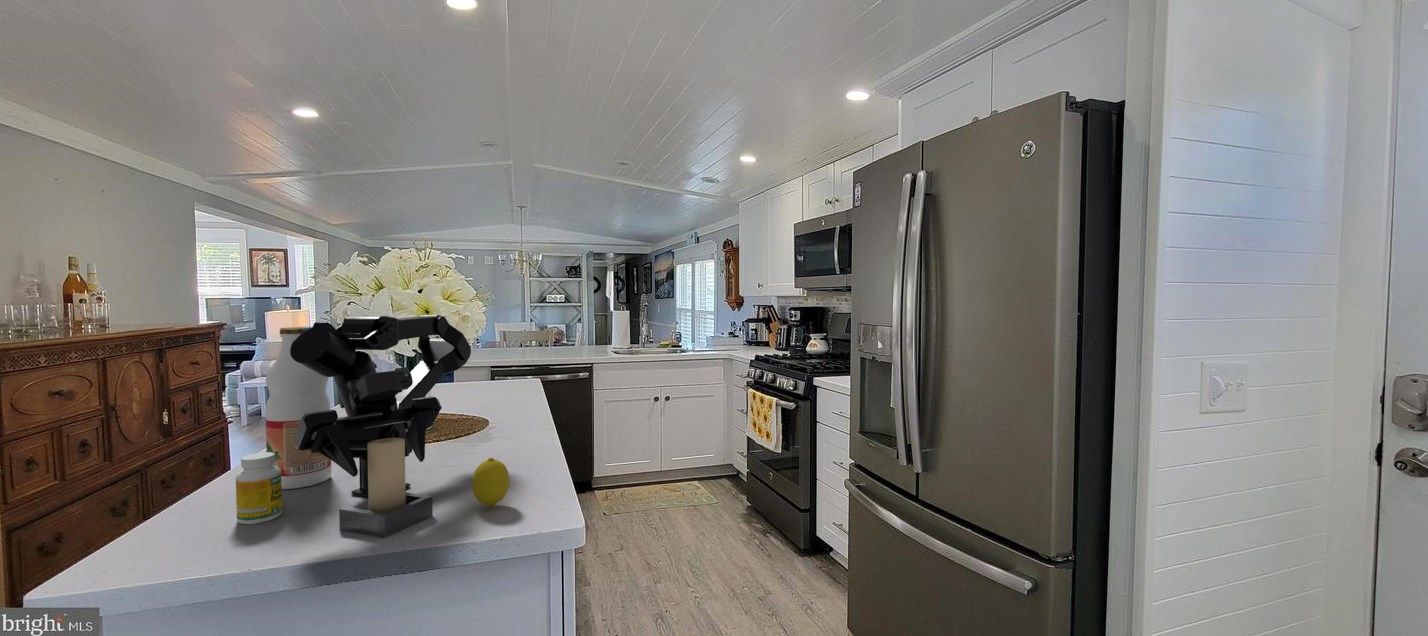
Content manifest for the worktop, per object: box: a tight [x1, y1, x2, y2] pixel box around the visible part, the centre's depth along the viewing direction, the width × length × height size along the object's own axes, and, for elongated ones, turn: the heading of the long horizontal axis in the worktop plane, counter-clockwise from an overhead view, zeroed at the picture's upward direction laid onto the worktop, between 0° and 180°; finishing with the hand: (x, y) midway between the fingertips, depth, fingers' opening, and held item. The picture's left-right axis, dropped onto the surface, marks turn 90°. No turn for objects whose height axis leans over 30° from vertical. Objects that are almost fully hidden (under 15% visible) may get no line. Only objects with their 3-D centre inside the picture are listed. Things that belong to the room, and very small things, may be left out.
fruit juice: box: [264, 326, 332, 490], centre depth 102 cm, size 9×9×28 cm
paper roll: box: [367, 438, 407, 513], centre depth 84 cm, size 5×5×12 cm
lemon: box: [471, 457, 510, 508], centre depth 90 cm, size 6×6×8 cm
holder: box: [338, 492, 434, 539], centre depth 84 cm, size 8×8×3 cm
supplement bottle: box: [235, 451, 283, 525], centre depth 85 cm, size 5×5×10 cm
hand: (390, 467), depth 83 cm, fingers open, 9 cm apart
